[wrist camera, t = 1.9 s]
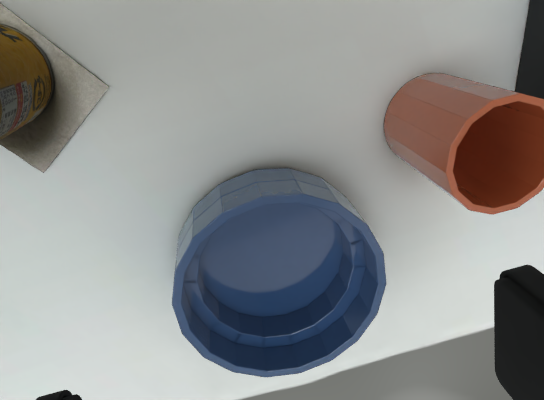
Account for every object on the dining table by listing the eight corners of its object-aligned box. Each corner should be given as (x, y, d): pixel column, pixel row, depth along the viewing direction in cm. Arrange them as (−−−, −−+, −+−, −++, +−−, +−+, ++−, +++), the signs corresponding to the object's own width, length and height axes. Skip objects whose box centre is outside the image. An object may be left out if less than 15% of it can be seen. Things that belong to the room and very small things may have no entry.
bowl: (255, 125, 30) (265, 148, 25) (395, 233, 35) (427, 270, 30) (138, 273, 33) (127, 319, 28) (283, 353, 38) (295, 404, 33)
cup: (430, 51, 30) (516, 66, 22) (489, 112, 32) (586, 146, 24) (364, 128, 31) (421, 168, 23) (425, 180, 34) (497, 234, 25)
